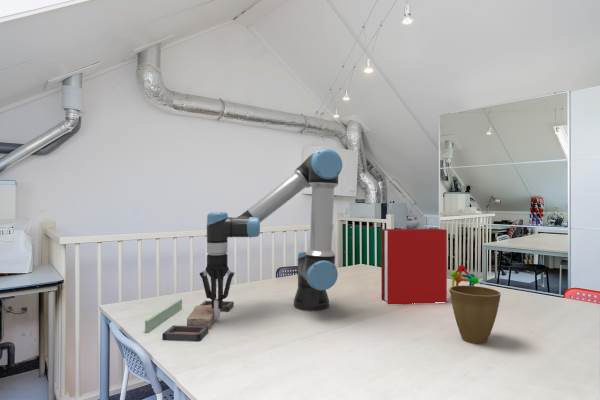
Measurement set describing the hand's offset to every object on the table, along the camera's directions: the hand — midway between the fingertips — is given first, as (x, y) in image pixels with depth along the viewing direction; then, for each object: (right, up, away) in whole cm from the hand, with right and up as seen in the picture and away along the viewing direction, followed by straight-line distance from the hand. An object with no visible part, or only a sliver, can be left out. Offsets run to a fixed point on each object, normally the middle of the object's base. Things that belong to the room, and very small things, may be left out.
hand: (217, 317), depth 140 cm
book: (+82, -2, +27) cm, 86 cm away
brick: (-5, -2, -1) cm, 6 cm away
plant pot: (+87, -2, -18) cm, 89 cm away
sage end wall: (-20, -2, +2) cm, 20 cm away
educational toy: (+108, -2, +38) cm, 114 cm away
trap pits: (-5, -2, +1) cm, 6 cm away
